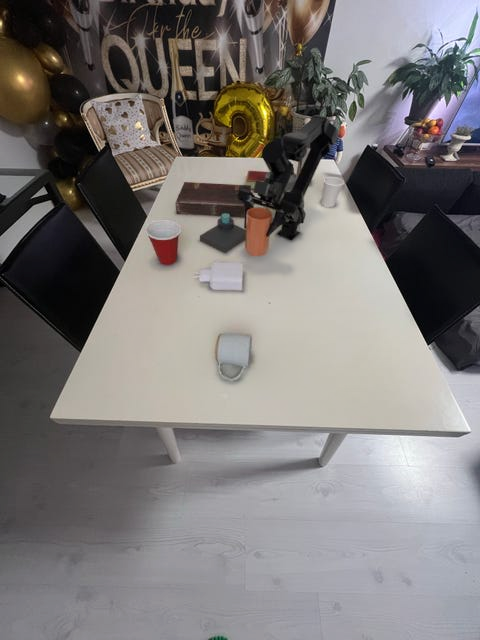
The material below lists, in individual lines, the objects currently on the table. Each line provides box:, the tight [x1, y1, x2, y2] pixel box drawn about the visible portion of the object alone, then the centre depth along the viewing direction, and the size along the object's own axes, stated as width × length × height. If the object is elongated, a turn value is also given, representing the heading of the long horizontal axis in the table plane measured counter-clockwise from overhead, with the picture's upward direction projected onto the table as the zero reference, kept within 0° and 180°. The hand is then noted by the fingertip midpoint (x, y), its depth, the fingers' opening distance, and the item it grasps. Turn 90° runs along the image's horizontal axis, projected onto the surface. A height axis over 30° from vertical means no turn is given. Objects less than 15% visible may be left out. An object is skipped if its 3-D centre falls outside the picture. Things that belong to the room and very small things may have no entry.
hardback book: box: [175, 181, 252, 219], centre depth 124 cm, size 29×19×5 cm, turn 86°
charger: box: [192, 261, 244, 292], centre depth 91 cm, size 5×9×15 cm
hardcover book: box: [245, 170, 268, 191], centre depth 139 cm, size 12×21×4 cm, turn 84°
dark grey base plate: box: [199, 216, 246, 254], centre depth 108 cm, size 14×12×4 cm
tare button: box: [221, 213, 231, 223], centre depth 109 cm, size 3×3×2 cm
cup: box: [244, 206, 273, 257], centre depth 89 cm, size 7×7×12 cm
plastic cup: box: [144, 219, 182, 266], centre depth 95 cm, size 11×11×12 cm
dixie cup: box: [321, 176, 345, 208], centre depth 126 cm, size 8×8×10 cm
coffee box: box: [295, 144, 313, 187], centre depth 139 cm, size 9×6×16 cm
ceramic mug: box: [214, 332, 253, 382], centre depth 69 cm, size 11×8×8 cm
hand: (255, 232), depth 87 cm, fingers closed on cup, 7 cm apart
